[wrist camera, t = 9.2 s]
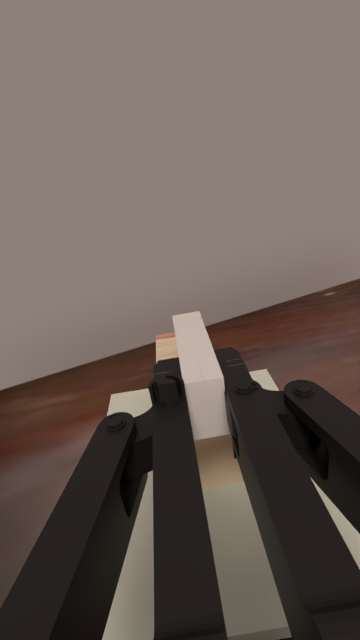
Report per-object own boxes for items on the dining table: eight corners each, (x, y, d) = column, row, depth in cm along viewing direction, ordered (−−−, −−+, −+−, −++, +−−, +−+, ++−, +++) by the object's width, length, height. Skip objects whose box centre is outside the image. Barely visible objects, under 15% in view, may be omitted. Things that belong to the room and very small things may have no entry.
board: (403, 618, 15) (407, 606, 14) (61, 676, 15) (55, 666, 14) (266, 377, 33) (266, 369, 33) (113, 402, 33) (111, 394, 33)
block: (238, 423, 19) (205, 327, 32) (156, 437, 19) (156, 335, 32) (243, 481, 21) (210, 369, 34) (169, 494, 21) (164, 377, 34)
